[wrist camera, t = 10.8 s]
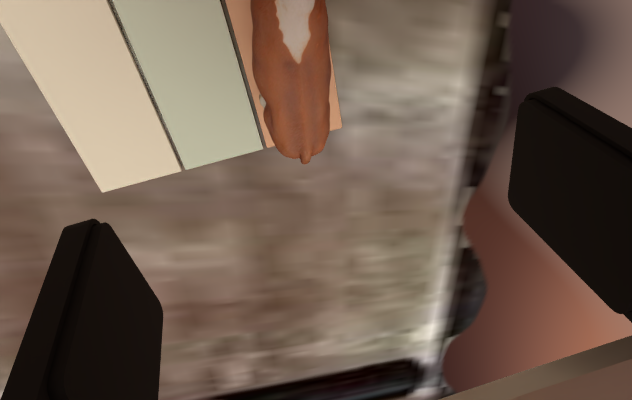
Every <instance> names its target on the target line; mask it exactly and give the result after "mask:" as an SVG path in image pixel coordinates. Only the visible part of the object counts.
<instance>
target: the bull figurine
mask: <svg viewBox="0 0 632 400" xmlns="http://www.w3.org/2000/svg"><path fill="white" fill-rule="evenodd" d="M250 9H251V16H252V23H253V32H252V71H253V76H254V79H255V82H256V85H257V87H258V90H259V92H260V95H259V100H260V104H261V105H262V106H263V108H264V112H263V118H264V122H265V124H266V127H267V129H268V131H269V134H270V136H271V138H272V141H273V143H274V144H275V146H276V148H277V149H278V150H279V152H280V153H281V154H282V155H284V156H286V157H289V158H292V159H296V158H300V159H301V163H302V164H307V163H309V161H310V159H311V156H314V155H316V154H318V153H320V152H321V151H322V150H323V148H324V146H325V143H326V140H327V137H328V134H329V131H330V103H329V91H330V79H331V61H330V51H329V38H328V16H327V10H326V5H325V0H251V2H250Z"/></svg>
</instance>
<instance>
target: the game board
mask: <svg viewBox="0 0 632 400" xmlns="http://www.w3.org/2000/svg"><path fill="white" fill-rule="evenodd" d="M112 1H113V3H114V6H115V8H116V10H117V12H118V15H119V17H120V19H121V22H122V24H123V26H124V29H125V31H126V33H127V36H128V38H129V40H130V42H131V45H132V47H133V49H134V52H135V54H136V56H137V59H138V61H139V63H140V65H141V68H142V70H143V72H144V75H145V77H146V79H147V82H148V84H149V86H150V89H151V91H152V93H153V95H154V98H155V100H156V102H157V105H158V107H159V109H160V112H161V114H162V116H163V118H164V121H165V123H166V125H167V128H168V130H169V132H170V135H171V137H172V139H173V142H174V144H175V146H176V148H177V151H178V153H179V155H180V158H181V160H182V162H183V165H184V167H185V169H186V170H187V169H191V168H195V167H199V166H202V165H206V164H210V163H213V162H217V161H221V160H224V159H228V158H232V157H236V156H239V155H243V154H247V153H250V152H254V151H258V150H261V149H263V147H262V143H261V140H260V136H259V133H258V129H257V126H256V123H255V119H254V116H253V112H252V109H251V105H250V102H249V99H248V95H247V92H246V88H245V85H244V81H243V78H242V74H241V71H240V68H239V64H238V61H237V57H236V54H235V50H234V47H233V44H232V40H231V37H230V33H229V30H228V26H227V23H226V19H225V16H224V13H223V9H222V6H221V2H220V0H112ZM225 1H226V5H227V8H228V12H229V15H230V19H231V22H232V26H233V29H234V33H235V37H236V40H237V44H238V47H239V51H240V54H241V58H242V61H243V65H244V68H245V72H246V75H247V79H248V82H249V86H250V89H251V93H252V96H253V100H254V103H255V107H256V111H257V114H258V118H259V121H260V125H261V128H262V132H263V135H264V139H265V142H266V146H267V148H269V147H272V146H275V144H274V143H273V141H272V138H271V136H270V134H269V131H268V129H267V127H266V124H265V122H264V118H263V112H264V108H263V106H262V105H261V104H260V100H259V95H260V92H259V90H258V87H257V85H256V82H255V79H254V76H253V71H252V32H253V23H252V16H251V9H250V2H251V0H225ZM0 23H1V25H2V27H3V28H4V30H5V32H6V33H7V35H8V37H9V38H10V40H11V42H12V43H13V45H14V47H15V48H16V50H17V52H18V53H19V55H20V57H21V58H22V60H23V62H24V63H25V65H26V67H27V68H28V70H29V72H30V73H31V75H32V77H33V78H34V80H35V82H36V83H37V85H38V87H39V88H40V90H41V92H42V93H43V95H44V97H45V98H46V100H47V102H48V103H49V105H50V107H51V108H52V110H53V112H54V113H55V115H56V117H57V118H58V120H59V122H60V123H61V125H62V127H63V128H64V130H65V132H66V133H67V135H68V137H69V138H70V140H71V142H72V143H73V145H74V147H75V148H76V150H77V152H78V153H79V155H80V157H81V158H82V160H83V162H84V163H85V165H86V166H87V168H88V170H89V171H90V173H91V175H92V176H93V178H94V180H95V181H96V183H97V185H98V186H99V188H100V190H101V191H102V192H106V191H110V190H113V189H117V188H121V187H125V186H128V185H132V184H136V183H139V182H143V181H147V180H150V179H154V178H158V177H162V176H165V175H169V174H173V173H176V172H180V171H182V167H181V165H180V163H179V161H178V158H177V156H176V154H175V152H174V149H173V147H172V145H171V142H170V140H169V138H168V136H167V133H166V131H165V129H164V126H163V124H162V122H161V120H160V117H159V115H158V113H157V111H156V108H155V106H154V104H153V101H152V99H151V97H150V95H149V92H148V90H147V88H146V86H145V83H144V81H143V79H142V76H141V74H140V72H139V70H138V67H137V65H136V63H135V60H134V58H133V56H132V54H131V51H130V49H129V47H128V45H127V42H126V40H125V38H124V35H123V33H122V31H121V29H120V26H119V24H118V22H117V19H116V17H115V15H114V13H113V10H112V8H111V6H110V4H109V1H108V0H0ZM329 51H330V45H329ZM330 61H331V79H330V91H329V103H330V131H332V130H335V129H339V128H342V123H341V116H340V110H339V103H338V97H337V90H336V84H335V77H334V71H333V64H332V58H331V52H330Z"/></svg>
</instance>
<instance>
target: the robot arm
mask: <svg viewBox="0 0 632 400" xmlns="http://www.w3.org/2000/svg"><path fill="white" fill-rule="evenodd" d="M508 199H509V203H510V205H511V207H512V208H513V210H514V211H515V212H516V213H517V214H518V215H519V216H520V217H521V218H522V219H523V220H524V221H525V222H526V223H527V224H528V225H529V226H530V227H531V228H532V229H533V230H534V231H535V232H536V233H537V234H538V235H539V236H540V237H541V238H542V239H543V240H544V241H545V242H546V243H547V244H548V245H549V246H550V247H551V248H552V249H553V251H554V252H556V254H557V255H559V256H560V258H561V259H562V260H563V261H564V262H565V263H566V264H567V265H568V266H569V267H570V268H571V269H572V270H573V271H574V272H575V273H576V274H577V275H578V276H579V277H580V278H581V279H582V280H583V281H584V282H585V283H586V284H587V285H588V286H589V287H590V288H591V289H592V290H593V291H594V292H595V293H596V294H597V295H598V296H599V297H600V298H601V299H602V300H603V301H604V302H605V303H606V304H607V305H608V306H609V307H610V308H611V309H612V310H613V311H614V312H616V313H619V314H624V315H625V316H626V317H627V318H628V319H629V320H630V321H631V322H632V128H630V127H628V126H627V125H625V124H623V123H621V122H619V121H617V120H616V119H614V118H612V117H610V116H609V115H607V114H605V113H603V112H602V111H600V110H598V109H596V108H594V107H593V106H591V105H589V104H587V103H585V102H584V101H582V100H580V99H578V98H576V97H575V96H573V95H571V94H569V93H567V92H566V91H564V90H562V89H560V88H558V87H551V88H547V89H544V90H540V91H537V92H533V93H530V94H529V95H527V96H526V98H525V100H524V102H522V103H521V104H520V106H519V109H518V116H517V124H516V132H515V141H514V149H513V157H512V165H511V174H510V182H509V190H508ZM162 327H163V310H162V307H161V304H160V302H159V300H158V298H157V297H156V295H155V294H154V292H153V291H152V289H151V288H150V286H149V284H148V283H147V281H146V280H145V278H144V277H143V275H142V274H141V272H140V271H139V269H138V267H137V266H136V264H135V263H134V261H133V260H132V258H131V257H130V255H129V254H128V252H127V250H126V249H125V247H124V246H123V244H122V243H121V241H120V240H119V238H118V237H117V235H116V234H115V232H114V230H113V229H112V227H111V226H110V225H109V224H108V223H101V224H100V222H99V221H97V220H96V219H90V220H87V221H83V222H80V223H76V224H73V225H69V226H67V227H65V228H64V229H63V231H62V234H61V236H60V239H59V242H58V244H57V247H56V250H55V253H54V255H53V258H52V261H51V264H50V266H49V269H48V272H47V275H46V277H45V280H44V283H43V285H42V288H41V291H40V294H39V296H38V299H37V302H36V305H35V307H34V310H33V313H32V315H31V318H30V321H29V324H28V326H27V329H26V332H25V335H24V337H23V340H22V343H21V346H20V348H19V351H18V354H17V356H16V359H15V362H14V365H13V367H12V370H11V373H10V376H9V378H8V381H7V384H6V386H5V389H4V392H3V395H2V397H1V400H158V392H159V376H160V360H161V344H162ZM440 400H632V336H629V337H626V338H623V339H620V340H617V341H614V342H611V343H608V344H605V345H602V346H599V347H596V348H592V349H590V350H586V351H583V352H580V353H577V354H574V355H571V356H569V357H565V358H562V359H559V360H556V361H553V362H550V363H547V364H544V365H541V366H538V367H535V368H532V369H529V370H526V371H523V372H520V373H517V374H514V375H511V376H508V377H505V378H502V379H500V380H496V381H493V382H490V383H488V384H484V385H481V386H478V387H475V388H472V389H470V390H466V391H463V392H460V393H457V394H454V395H451V396H449V397H446V398H443V399H440Z"/></svg>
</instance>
